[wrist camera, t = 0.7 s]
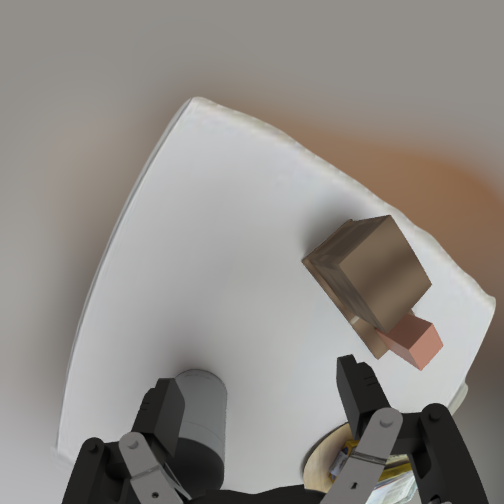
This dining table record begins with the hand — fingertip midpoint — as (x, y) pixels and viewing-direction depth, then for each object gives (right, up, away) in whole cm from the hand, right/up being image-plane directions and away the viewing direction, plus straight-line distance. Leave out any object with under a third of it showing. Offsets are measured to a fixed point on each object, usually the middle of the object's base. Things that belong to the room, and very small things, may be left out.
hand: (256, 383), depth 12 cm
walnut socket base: (+19, -1, +29) cm, 34 cm away
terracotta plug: (+23, -7, +28) cm, 37 cm away
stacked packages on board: (+22, -37, +31) cm, 53 cm away
